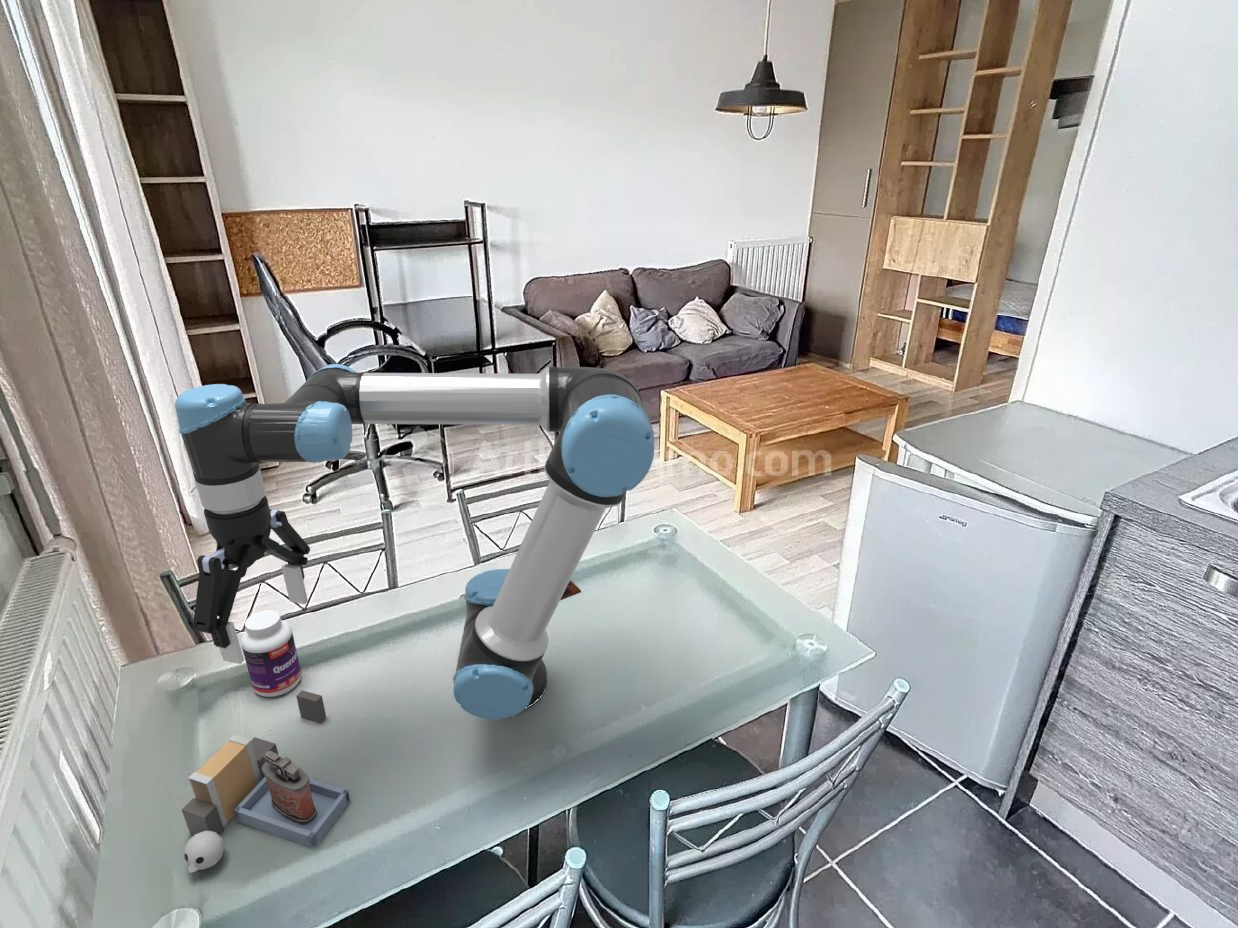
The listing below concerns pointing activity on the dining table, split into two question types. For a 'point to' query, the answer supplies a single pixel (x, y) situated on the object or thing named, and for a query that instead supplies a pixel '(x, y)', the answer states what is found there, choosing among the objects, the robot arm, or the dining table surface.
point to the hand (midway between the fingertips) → (268, 629)
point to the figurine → (203, 850)
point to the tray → (266, 818)
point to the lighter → (289, 789)
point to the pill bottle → (270, 654)
